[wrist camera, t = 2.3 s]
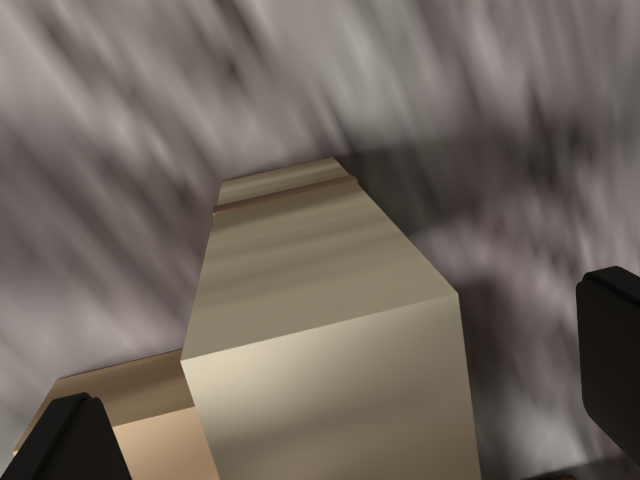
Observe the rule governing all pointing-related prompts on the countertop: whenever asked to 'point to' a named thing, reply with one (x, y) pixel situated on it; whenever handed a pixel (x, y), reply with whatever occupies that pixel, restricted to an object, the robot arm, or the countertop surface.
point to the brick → (566, 478)
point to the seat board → (146, 417)
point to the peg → (325, 339)
